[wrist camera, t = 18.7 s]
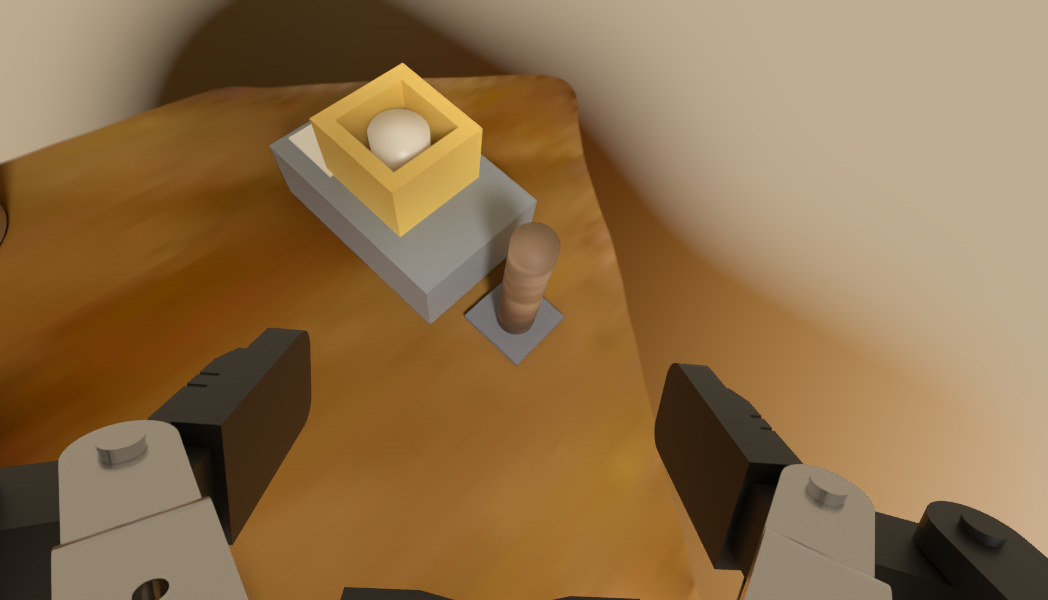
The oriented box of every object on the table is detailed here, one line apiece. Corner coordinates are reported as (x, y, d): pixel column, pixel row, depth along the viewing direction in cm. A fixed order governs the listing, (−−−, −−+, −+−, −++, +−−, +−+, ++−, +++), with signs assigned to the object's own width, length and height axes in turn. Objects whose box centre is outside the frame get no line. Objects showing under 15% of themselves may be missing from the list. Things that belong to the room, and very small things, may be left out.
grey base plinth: (290, 191, 46) (242, 91, 35) (393, 124, 50) (378, 18, 40) (429, 324, 42) (422, 256, 32) (527, 239, 47) (548, 155, 36)
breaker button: (369, 193, 43) (354, 129, 36) (409, 165, 45) (401, 99, 38) (405, 225, 42) (396, 166, 35) (444, 196, 44) (442, 134, 37)
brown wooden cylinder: (488, 316, 43) (499, 242, 32) (514, 292, 44) (533, 213, 33) (516, 342, 42) (537, 275, 31) (541, 316, 43) (570, 244, 32)
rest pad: (464, 317, 43) (464, 315, 42) (513, 273, 45) (513, 271, 45) (516, 365, 42) (517, 364, 41) (563, 318, 44) (564, 316, 44)
